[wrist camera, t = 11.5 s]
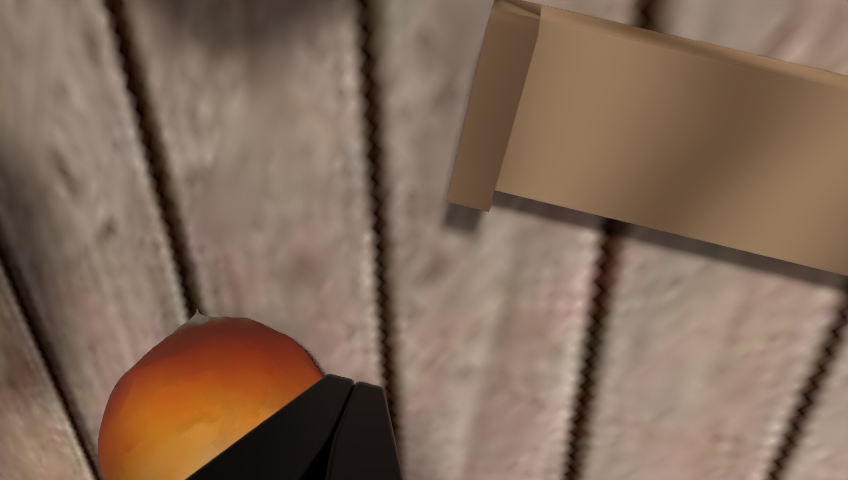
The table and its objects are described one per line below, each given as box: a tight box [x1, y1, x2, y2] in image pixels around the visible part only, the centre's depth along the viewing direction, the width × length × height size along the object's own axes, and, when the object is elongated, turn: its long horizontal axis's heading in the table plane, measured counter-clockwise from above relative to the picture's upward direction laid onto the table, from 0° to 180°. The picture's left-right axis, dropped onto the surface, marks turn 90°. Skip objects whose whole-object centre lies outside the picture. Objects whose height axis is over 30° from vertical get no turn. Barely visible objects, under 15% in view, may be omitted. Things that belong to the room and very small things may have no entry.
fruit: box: [98, 310, 323, 480], centre depth 26 cm, size 8×8×8 cm
